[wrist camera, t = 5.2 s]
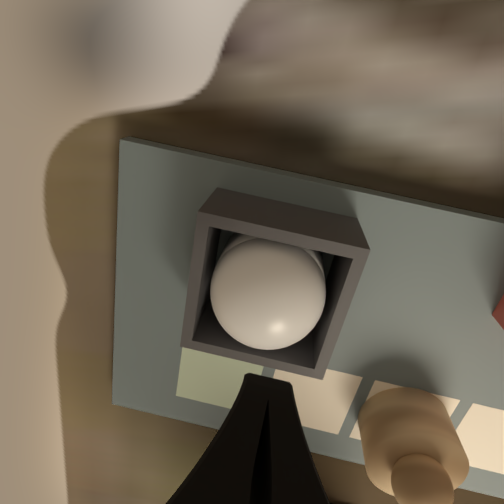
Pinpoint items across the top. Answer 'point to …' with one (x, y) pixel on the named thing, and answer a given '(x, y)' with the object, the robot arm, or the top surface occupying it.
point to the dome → (267, 291)
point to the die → (499, 312)
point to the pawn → (411, 446)
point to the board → (335, 309)
